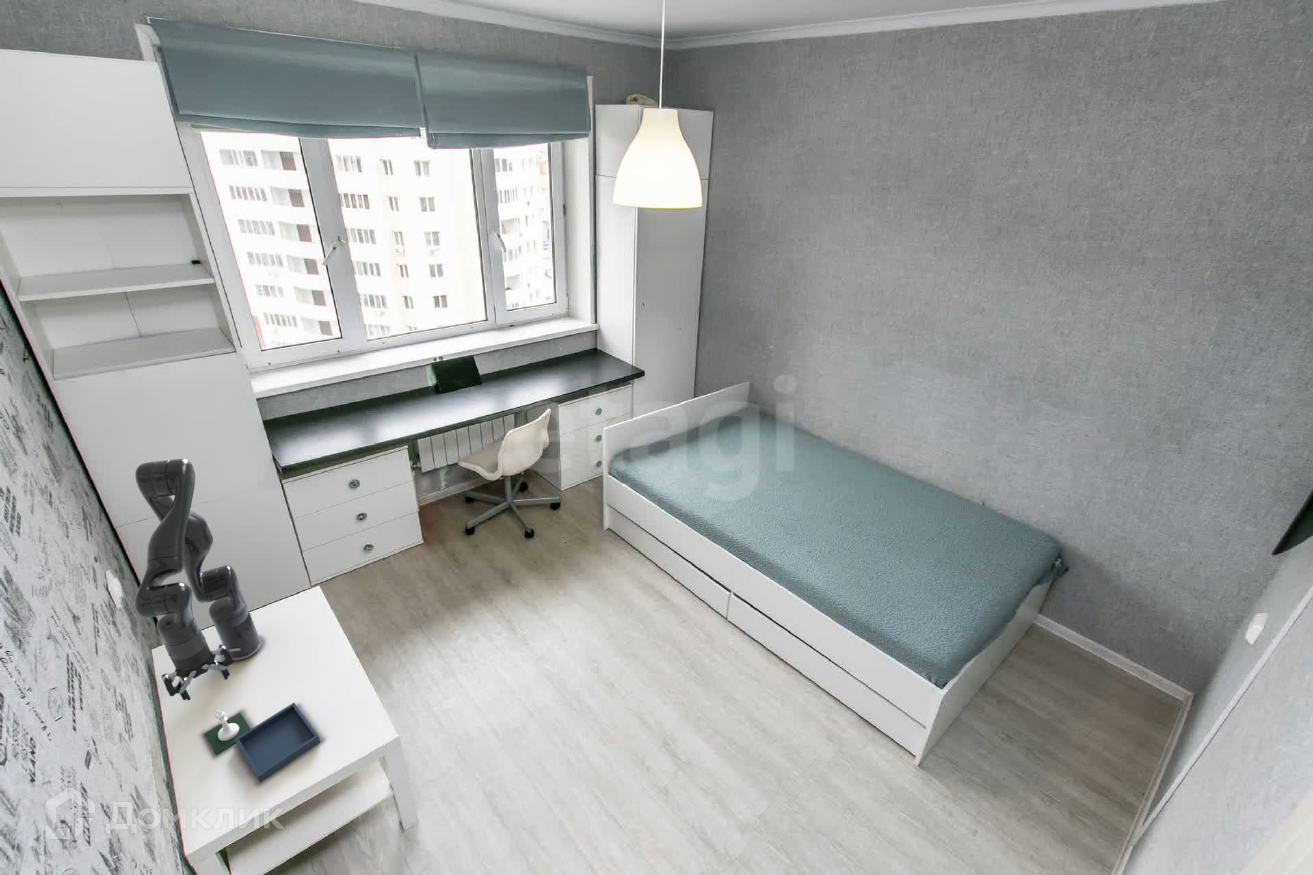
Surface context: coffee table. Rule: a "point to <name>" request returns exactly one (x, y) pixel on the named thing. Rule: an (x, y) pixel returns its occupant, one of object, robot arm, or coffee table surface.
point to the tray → (277, 741)
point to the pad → (223, 745)
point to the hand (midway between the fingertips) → (207, 687)
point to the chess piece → (226, 727)
